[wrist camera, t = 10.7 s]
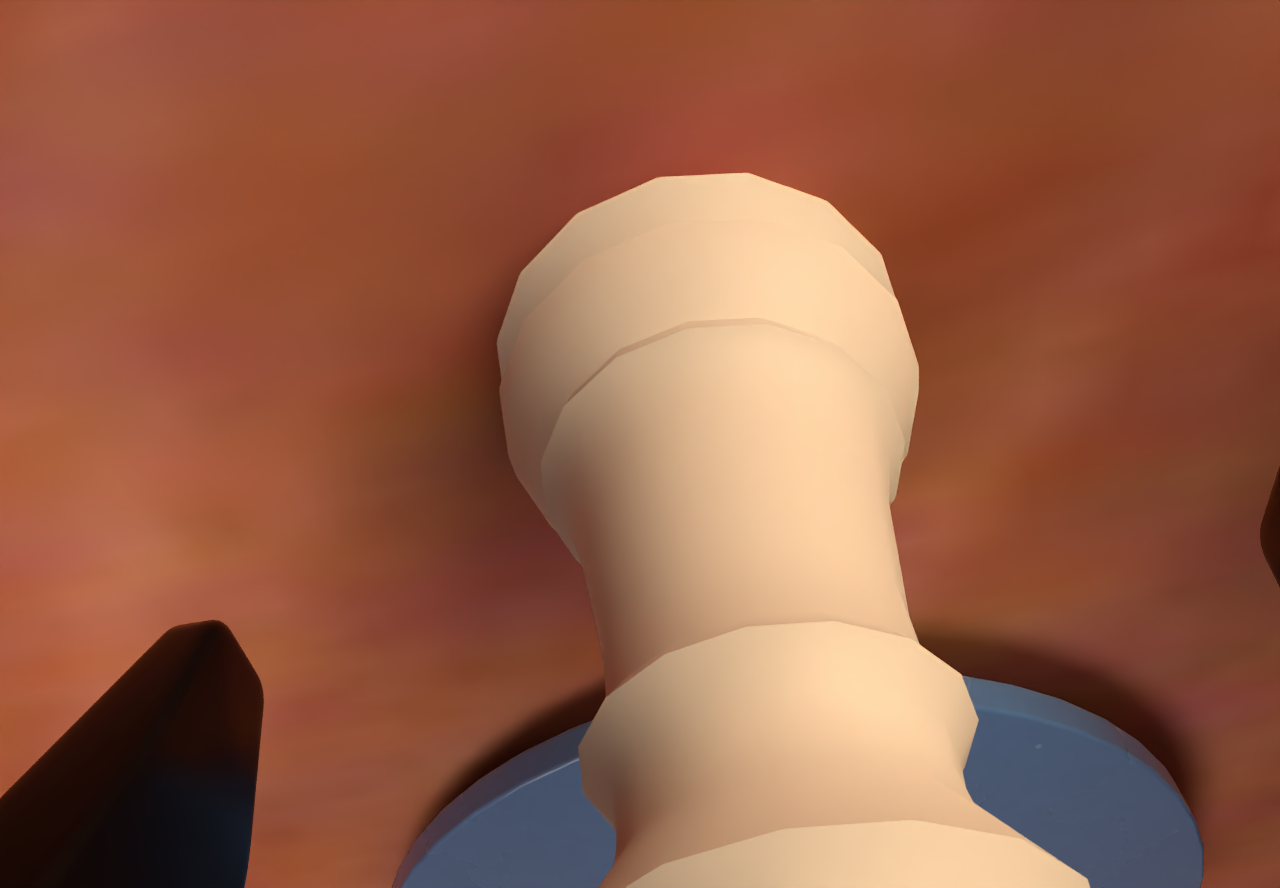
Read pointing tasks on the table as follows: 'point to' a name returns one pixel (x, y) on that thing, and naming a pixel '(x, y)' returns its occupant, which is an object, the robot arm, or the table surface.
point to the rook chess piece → (745, 546)
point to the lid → (994, 777)
